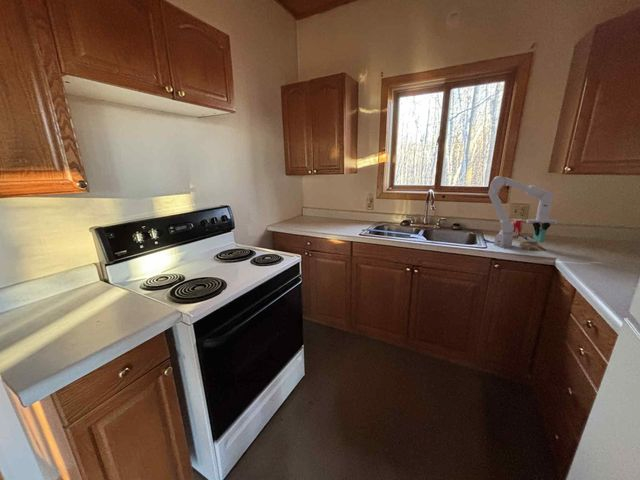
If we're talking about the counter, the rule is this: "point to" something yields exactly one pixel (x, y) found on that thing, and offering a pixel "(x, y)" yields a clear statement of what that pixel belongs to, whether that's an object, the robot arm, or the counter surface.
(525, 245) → the offcut
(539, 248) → the rack
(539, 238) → the board
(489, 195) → the robot arm
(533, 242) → the stand
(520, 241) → the offcut
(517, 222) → the soda can
